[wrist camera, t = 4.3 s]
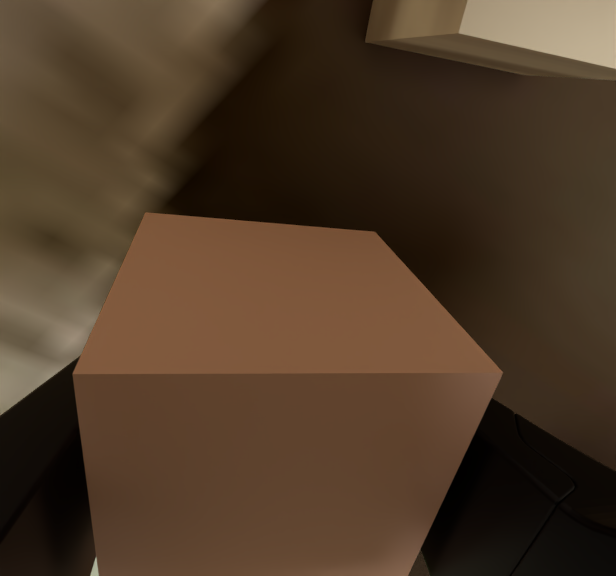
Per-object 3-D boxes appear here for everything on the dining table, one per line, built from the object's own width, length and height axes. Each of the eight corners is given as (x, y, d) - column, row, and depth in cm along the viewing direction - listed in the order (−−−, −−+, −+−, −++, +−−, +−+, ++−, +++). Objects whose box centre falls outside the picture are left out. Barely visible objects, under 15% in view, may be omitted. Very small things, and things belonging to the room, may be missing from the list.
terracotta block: (335, 395, 12) (402, 587, 8) (149, 399, 11) (105, 628, 6) (374, 231, 10) (503, 372, 5) (145, 212, 8) (72, 374, 4)
